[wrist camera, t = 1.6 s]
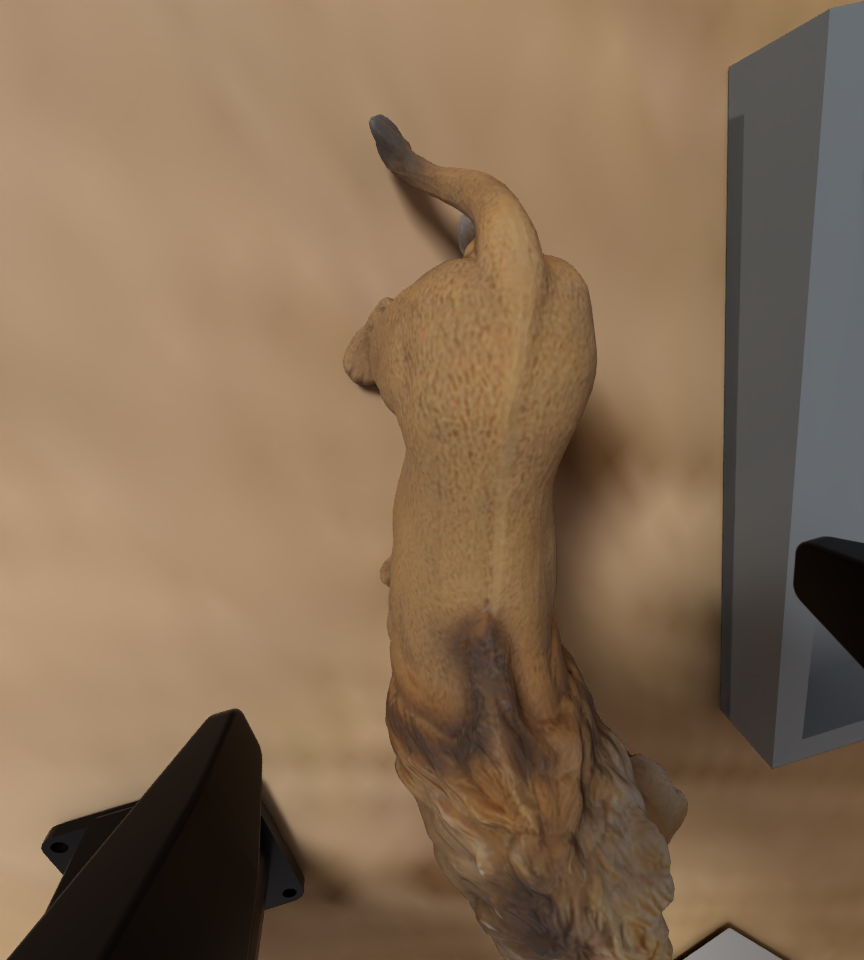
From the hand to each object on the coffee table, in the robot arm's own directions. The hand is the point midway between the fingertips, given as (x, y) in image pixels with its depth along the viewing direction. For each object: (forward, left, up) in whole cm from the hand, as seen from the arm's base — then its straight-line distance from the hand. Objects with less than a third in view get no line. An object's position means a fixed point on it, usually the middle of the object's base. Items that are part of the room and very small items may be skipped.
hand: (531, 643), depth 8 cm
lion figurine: (+1, 0, -7) cm, 7 cm away
